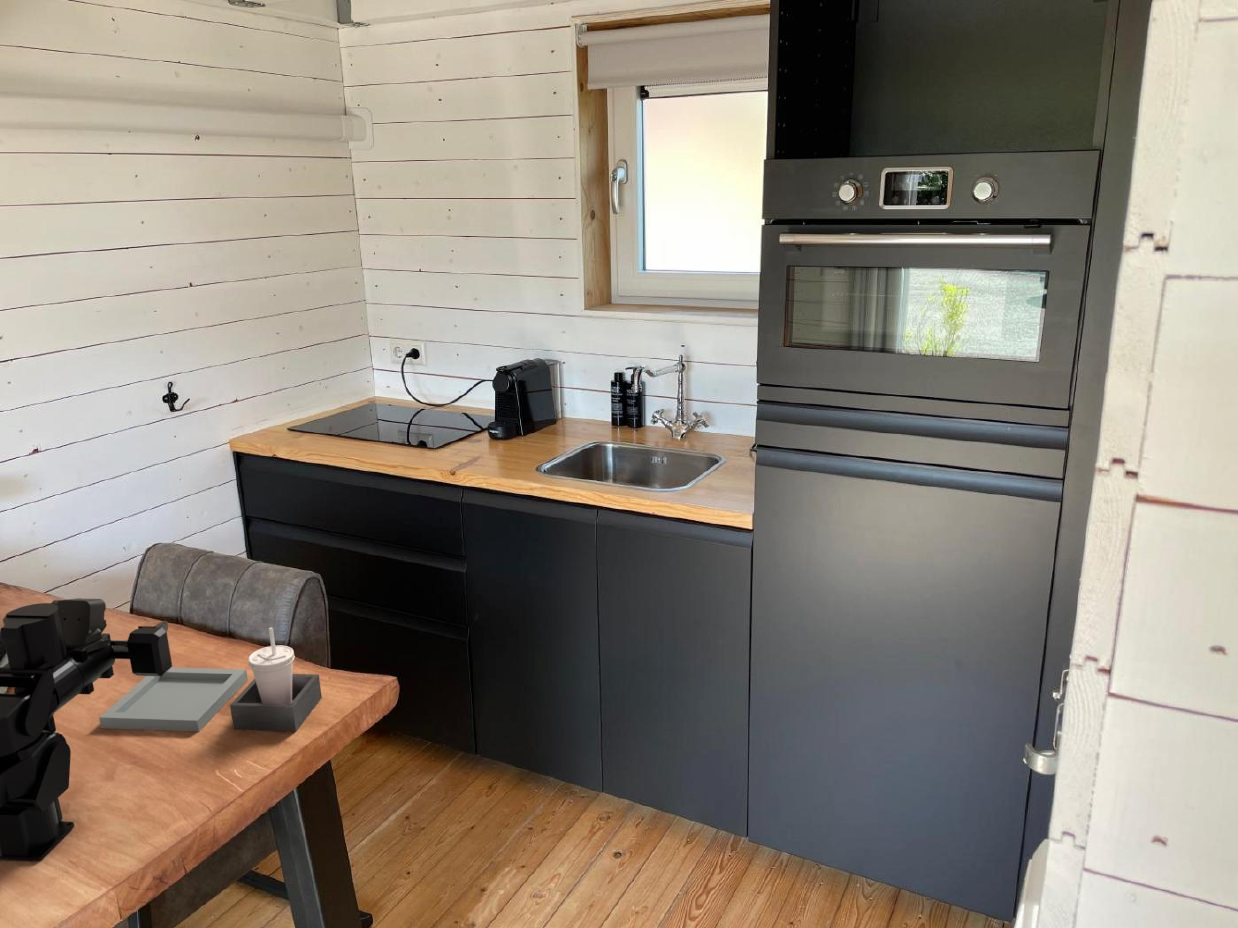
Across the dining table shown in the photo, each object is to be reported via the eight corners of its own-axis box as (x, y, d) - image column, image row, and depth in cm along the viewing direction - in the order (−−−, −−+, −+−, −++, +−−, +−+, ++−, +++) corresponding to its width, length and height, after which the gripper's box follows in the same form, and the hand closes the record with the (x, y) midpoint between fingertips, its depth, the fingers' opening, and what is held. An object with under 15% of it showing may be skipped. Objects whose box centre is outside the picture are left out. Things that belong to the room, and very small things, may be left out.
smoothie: (286, 726, 135) (275, 639, 131) (247, 722, 136) (234, 636, 132) (309, 703, 141) (298, 619, 137) (271, 700, 142) (259, 616, 138)
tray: (199, 731, 134) (197, 720, 134) (101, 728, 136) (98, 717, 135) (247, 679, 149) (246, 669, 148) (158, 677, 150) (157, 667, 150)
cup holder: (296, 731, 134) (292, 706, 133) (233, 729, 135) (229, 705, 134) (321, 697, 143) (318, 674, 142) (263, 695, 144) (259, 672, 143)
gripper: (121, 620, 113) (190, 571, 128) (-21, 617, 115) (63, 569, 130) (136, 701, 116) (201, 644, 131) (-3, 697, 118) (77, 641, 133)
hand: (135, 623), depth 131 cm, fingers open, 9 cm apart
